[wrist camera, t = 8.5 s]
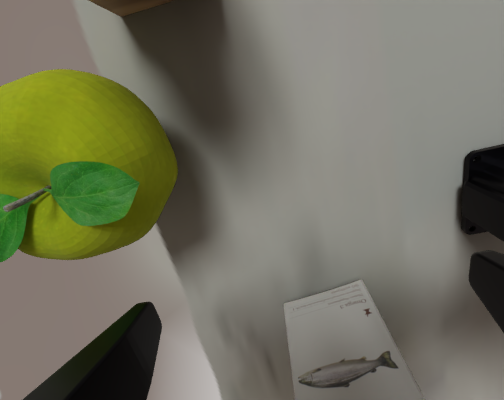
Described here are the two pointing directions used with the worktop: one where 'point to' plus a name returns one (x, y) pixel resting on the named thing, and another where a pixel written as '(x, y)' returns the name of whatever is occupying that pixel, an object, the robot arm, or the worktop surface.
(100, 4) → the tower base
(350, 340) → the supplement box
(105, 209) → the fruit
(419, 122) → the worktop surface
